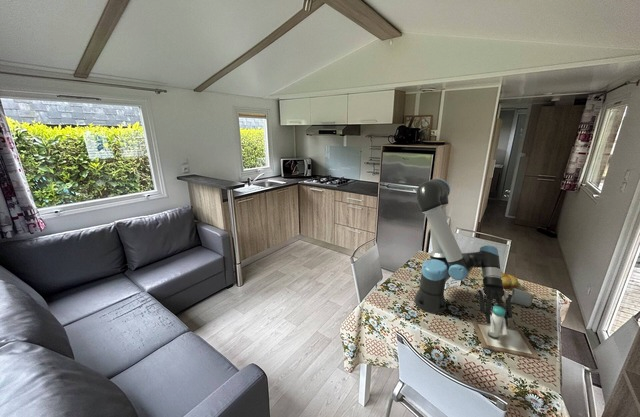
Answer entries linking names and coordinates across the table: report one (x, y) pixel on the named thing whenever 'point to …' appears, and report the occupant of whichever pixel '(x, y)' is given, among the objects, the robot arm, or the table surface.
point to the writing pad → (505, 341)
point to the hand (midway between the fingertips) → (498, 333)
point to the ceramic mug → (521, 297)
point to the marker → (497, 321)
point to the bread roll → (509, 281)
